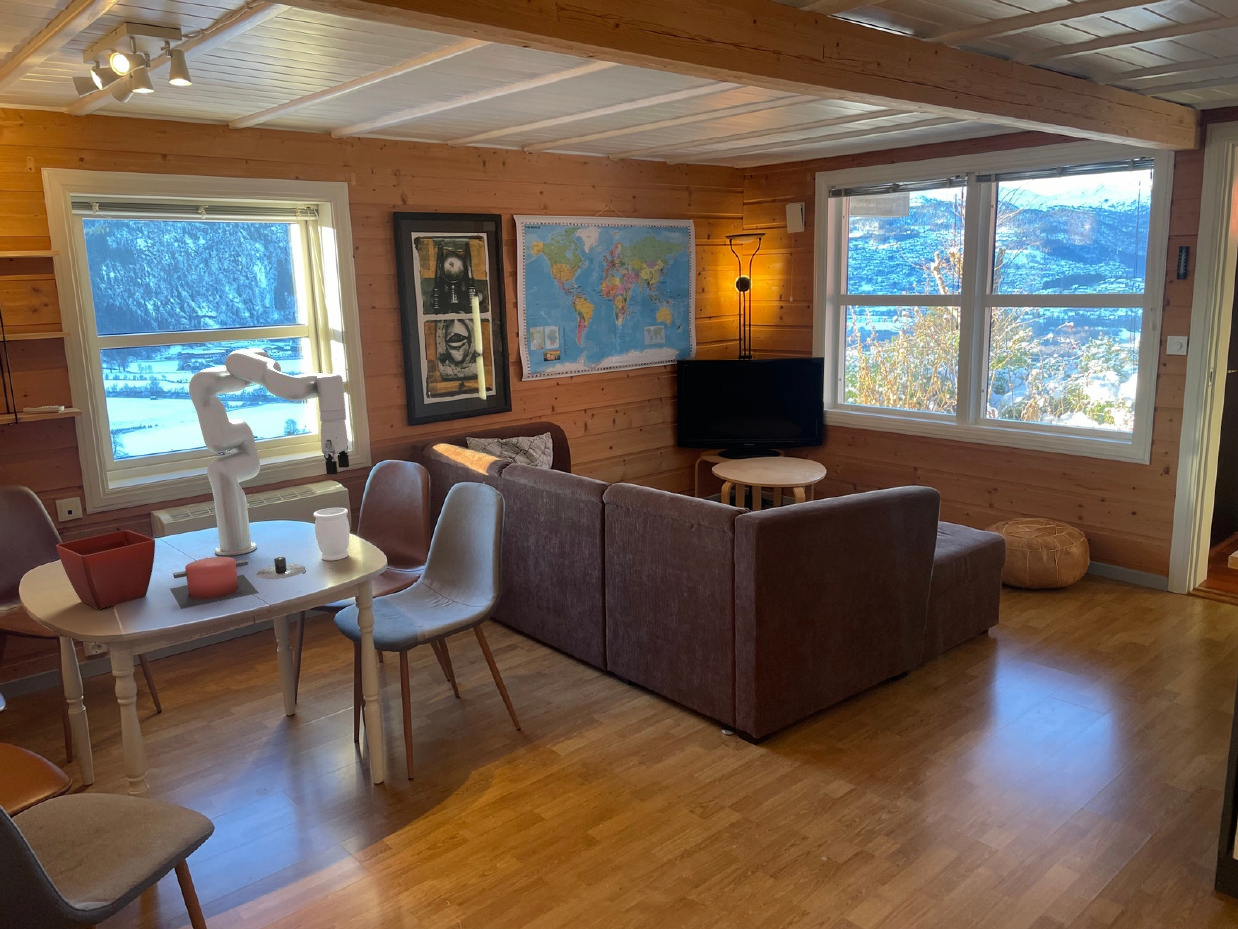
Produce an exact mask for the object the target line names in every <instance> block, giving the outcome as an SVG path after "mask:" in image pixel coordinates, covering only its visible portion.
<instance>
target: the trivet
mask: <svg viewBox="0 0 1238 929" xmlns="http://www.w3.org/2000/svg"><path fill="white" fill-rule="evenodd" d="M237 578H238V587H239V588H238V589H237V590H236V591H235V592H233V593H231V594H228V595H225V596H221V597H216V598H208V599H197V598H192V597H190V596H189V593H188V585H182V586H176V587H171V588H169V590H170V592H171V593H172V595H173V597H174V599H175V600H176V603H177V604H178V606H179V607H180V609H182V610H183V609H187V608H192V607H197V606H202V605H207V604H211V603H216V602H222V601H226V600H231V599H235V598H240V597H241V598H242V597H246V596H251V595H255V594H259V591H258V589H257V588H256V587H254V585H253V584H252V582H250V581H249V580H248V578H247V577H246V575H244V574H239V575H238V574H237Z"/></svg>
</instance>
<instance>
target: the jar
mask: <svg viewBox="0 0 1238 929" xmlns="http://www.w3.org/2000/svg"><path fill="white" fill-rule="evenodd" d="M347 515H348V509H347V508H345V507H327V508H323V509H319V510H316V511H314V512H313V517H314V518H315V520H314V521H315V522H314V531H315V532H314V534H315V537H316V540H317V545H318V548H319V551H320V552H321V556H320V557H321V560H324V561H339V560H343V559H346V558H347V557H348V556H349V552H348V551H347V550H348V548H349V546H350V545H349V544H350V532H351V530H350V522H349V519H348V516H347Z"/></svg>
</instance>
